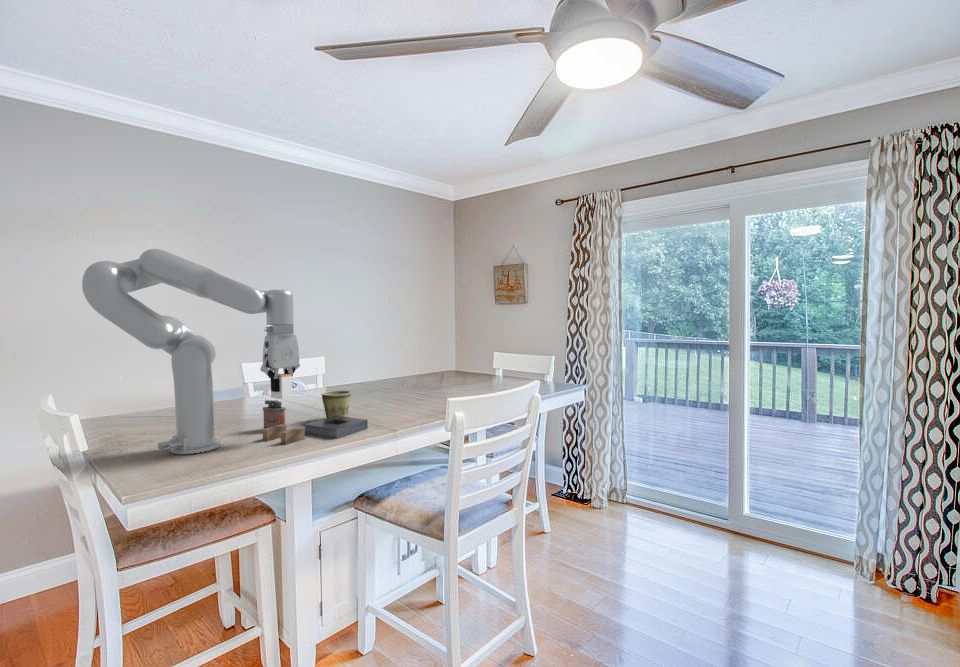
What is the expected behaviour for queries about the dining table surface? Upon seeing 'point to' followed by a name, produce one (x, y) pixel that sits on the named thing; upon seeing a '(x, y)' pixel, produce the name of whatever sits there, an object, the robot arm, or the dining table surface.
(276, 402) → the lighter
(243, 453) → the dining table surface
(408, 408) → the dining table surface
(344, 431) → the port block
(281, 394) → the white orange-topped block
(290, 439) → the holster
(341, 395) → the green plant pot
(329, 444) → the dining table surface
